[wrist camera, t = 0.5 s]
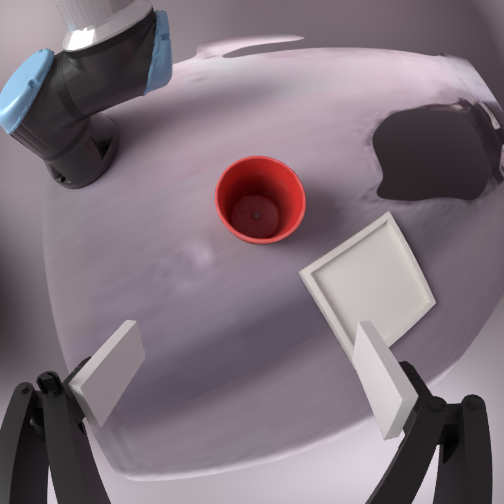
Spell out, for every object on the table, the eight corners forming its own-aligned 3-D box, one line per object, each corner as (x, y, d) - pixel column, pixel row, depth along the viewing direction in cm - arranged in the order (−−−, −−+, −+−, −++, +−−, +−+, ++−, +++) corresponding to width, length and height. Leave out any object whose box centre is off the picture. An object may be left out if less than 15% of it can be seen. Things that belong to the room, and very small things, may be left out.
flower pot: (283, 180, 41) (295, 150, 32) (297, 248, 40) (315, 235, 30) (215, 189, 41) (209, 160, 31) (225, 260, 39) (222, 250, 30)
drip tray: (297, 272, 39) (300, 270, 37) (382, 214, 42) (389, 211, 39) (353, 367, 38) (359, 371, 36) (428, 302, 40) (436, 303, 38)
